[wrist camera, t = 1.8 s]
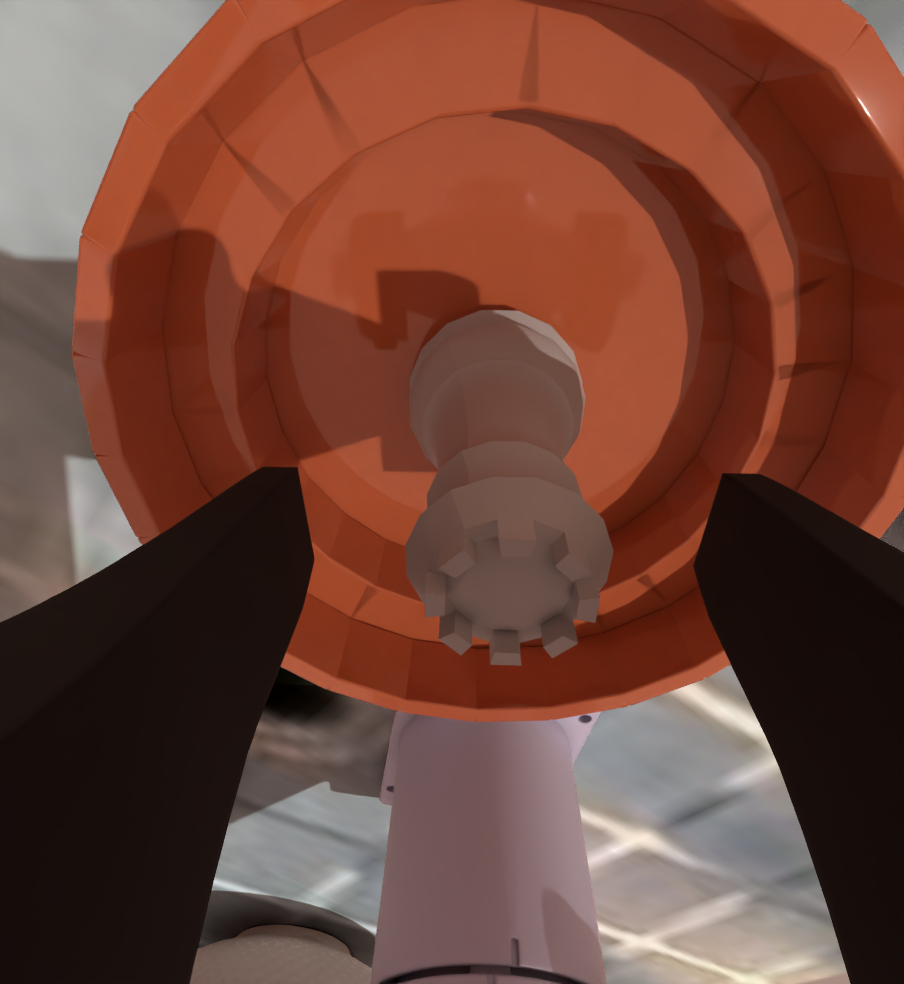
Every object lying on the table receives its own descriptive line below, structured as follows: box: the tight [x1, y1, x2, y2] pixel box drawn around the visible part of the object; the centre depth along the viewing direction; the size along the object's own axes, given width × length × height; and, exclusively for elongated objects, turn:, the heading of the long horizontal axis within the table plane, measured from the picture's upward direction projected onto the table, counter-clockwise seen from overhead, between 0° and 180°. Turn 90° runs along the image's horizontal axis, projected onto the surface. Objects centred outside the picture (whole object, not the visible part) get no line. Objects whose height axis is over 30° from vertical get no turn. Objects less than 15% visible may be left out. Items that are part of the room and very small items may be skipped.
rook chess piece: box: [405, 310, 613, 666], centre depth 11 cm, size 4×4×8 cm
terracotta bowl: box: [72, 0, 904, 722], centre depth 13 cm, size 16×16×5 cm
